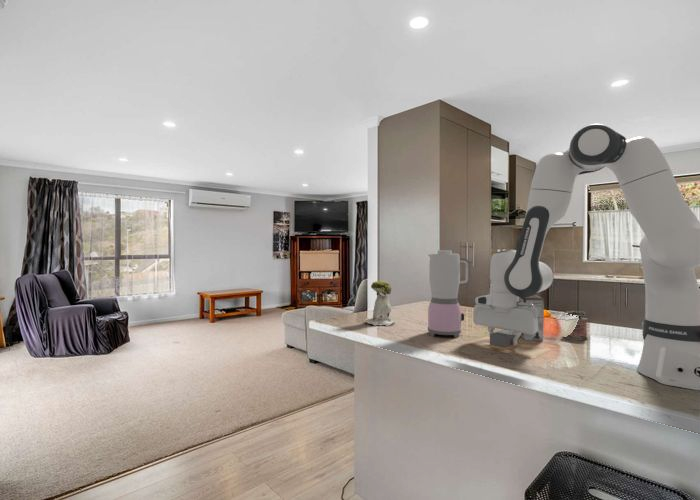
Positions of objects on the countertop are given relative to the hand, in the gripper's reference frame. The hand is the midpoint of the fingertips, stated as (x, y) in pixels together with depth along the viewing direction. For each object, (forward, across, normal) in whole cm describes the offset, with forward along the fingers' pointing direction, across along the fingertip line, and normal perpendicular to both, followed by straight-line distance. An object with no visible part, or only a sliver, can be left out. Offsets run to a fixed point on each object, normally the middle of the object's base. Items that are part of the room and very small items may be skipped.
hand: (503, 342), depth 120 cm
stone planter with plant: (+3, +55, 0) cm, 55 cm away
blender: (+3, +24, -5) cm, 25 cm away
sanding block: (+1, 0, 0) cm, 1 cm away
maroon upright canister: (+3, -10, -34) cm, 36 cm away
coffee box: (+3, -1, -18) cm, 18 cm away
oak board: (+2, -1, 0) cm, 3 cm away
